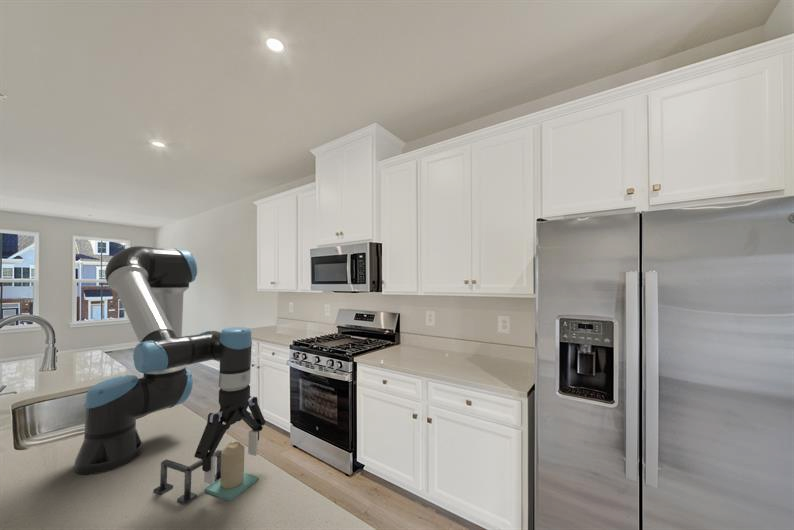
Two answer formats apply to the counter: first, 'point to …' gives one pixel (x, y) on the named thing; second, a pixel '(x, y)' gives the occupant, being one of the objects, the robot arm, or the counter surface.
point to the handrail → (187, 470)
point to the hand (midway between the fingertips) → (232, 467)
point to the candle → (232, 465)
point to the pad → (233, 492)
